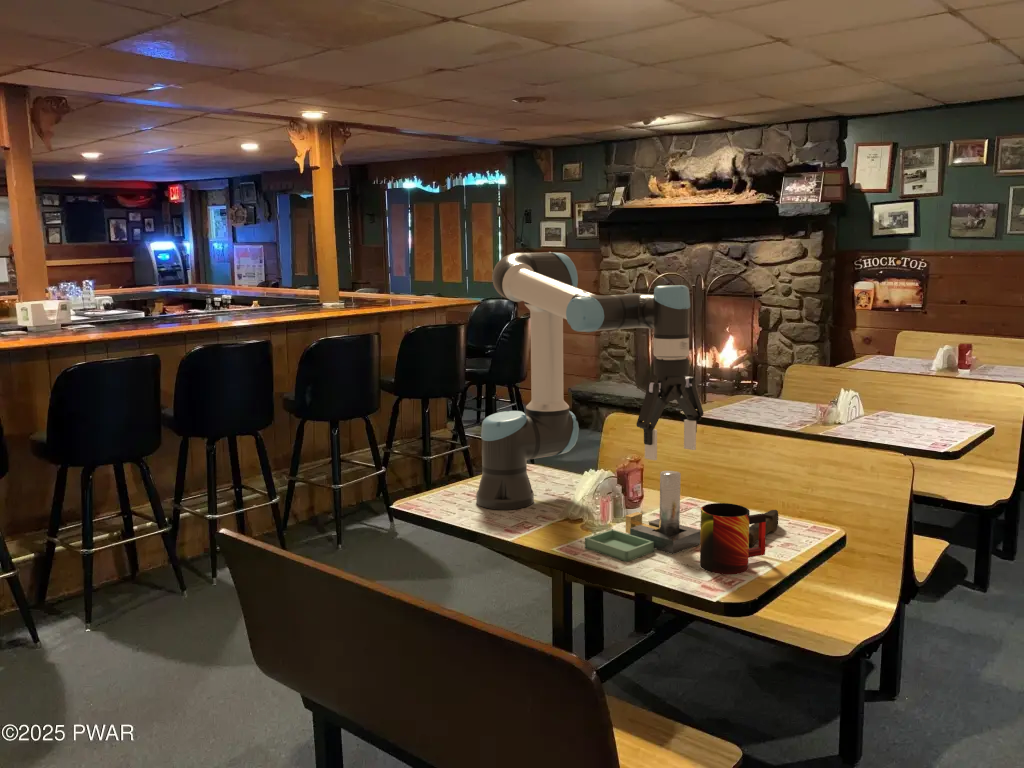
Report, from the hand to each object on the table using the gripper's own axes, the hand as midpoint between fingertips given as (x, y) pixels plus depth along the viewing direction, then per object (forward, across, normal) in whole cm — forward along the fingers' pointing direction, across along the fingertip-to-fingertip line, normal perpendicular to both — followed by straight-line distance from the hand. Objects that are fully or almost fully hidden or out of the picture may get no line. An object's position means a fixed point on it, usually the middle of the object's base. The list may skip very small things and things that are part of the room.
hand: (670, 454), depth 183 cm
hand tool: (+21, +19, -10) cm, 30 cm away
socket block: (+20, 0, +1) cm, 20 cm away
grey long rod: (+20, 0, 0) cm, 20 cm away
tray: (+20, -11, +5) cm, 24 cm away
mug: (+21, -1, -16) cm, 26 cm away
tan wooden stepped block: (+20, 0, +8) cm, 21 cm away
